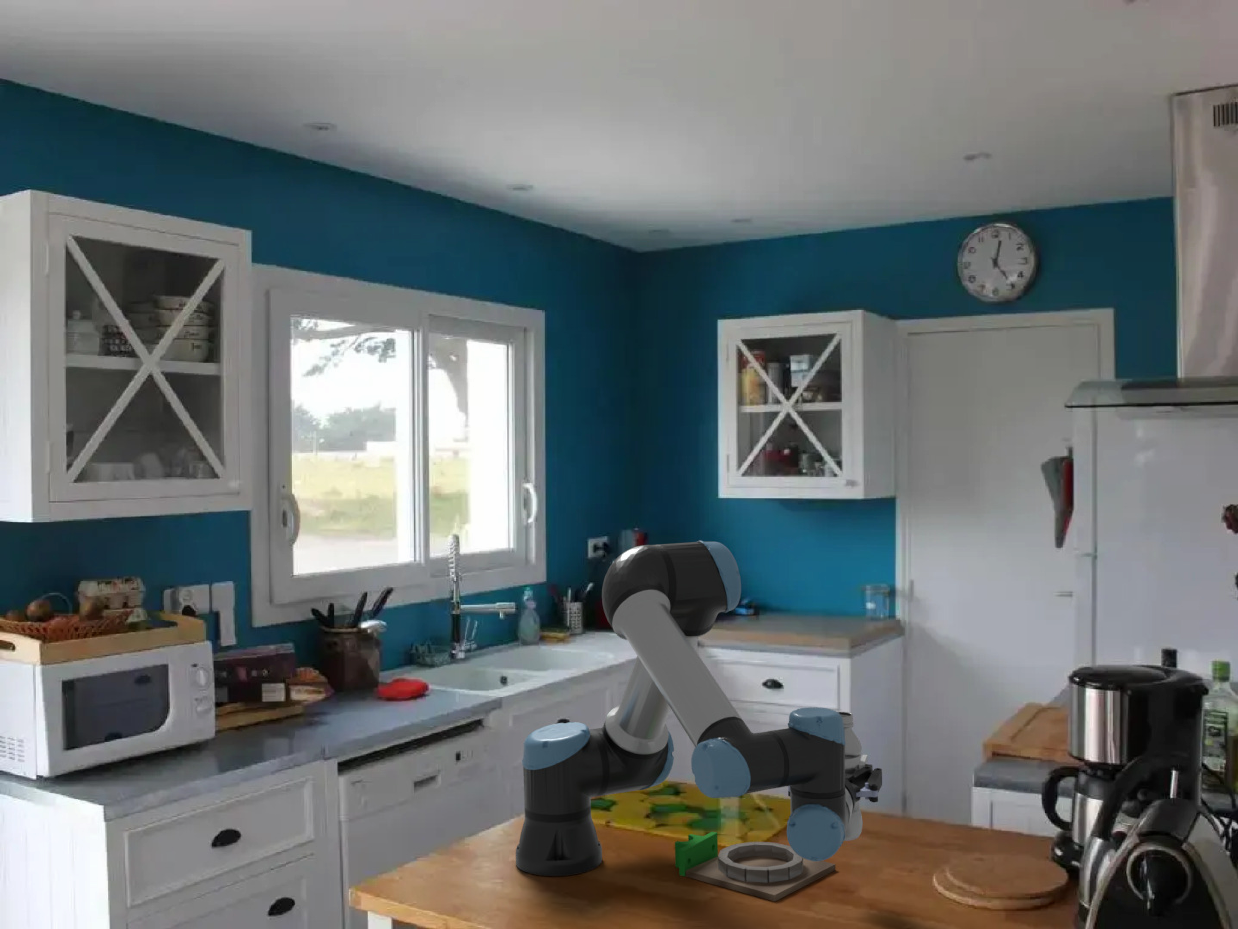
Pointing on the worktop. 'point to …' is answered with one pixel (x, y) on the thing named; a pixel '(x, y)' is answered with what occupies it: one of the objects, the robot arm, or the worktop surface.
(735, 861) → the ring board
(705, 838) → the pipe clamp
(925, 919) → the worktop surface
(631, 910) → the worktop surface
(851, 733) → the plastic bottle
